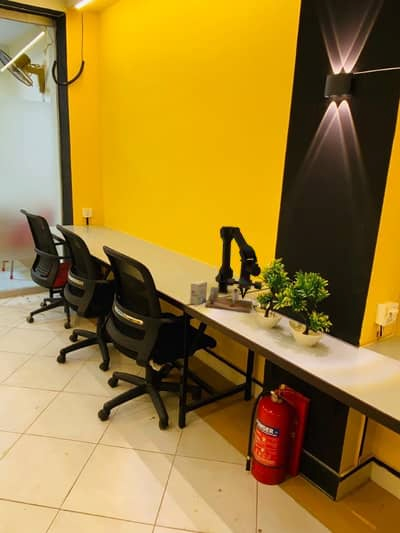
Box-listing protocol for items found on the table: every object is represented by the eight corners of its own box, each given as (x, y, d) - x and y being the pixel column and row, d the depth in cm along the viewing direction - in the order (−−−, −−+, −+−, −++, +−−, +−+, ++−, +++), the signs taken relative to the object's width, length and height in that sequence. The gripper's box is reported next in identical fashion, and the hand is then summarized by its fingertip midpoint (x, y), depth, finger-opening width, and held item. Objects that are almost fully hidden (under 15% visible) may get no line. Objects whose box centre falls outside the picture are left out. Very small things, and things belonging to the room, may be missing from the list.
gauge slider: (231, 299, 219) (232, 287, 217) (238, 300, 218) (240, 288, 216) (229, 305, 210) (230, 292, 208) (236, 306, 209) (238, 293, 208)
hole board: (209, 299, 222) (209, 294, 221) (251, 305, 218) (252, 300, 217) (204, 307, 210) (205, 302, 209) (249, 313, 206) (250, 308, 205)
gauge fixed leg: (211, 296, 221) (212, 286, 220) (218, 297, 220) (219, 287, 219) (208, 302, 212) (208, 291, 211) (215, 303, 211) (216, 292, 210)
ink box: (199, 299, 221) (200, 279, 218) (206, 301, 218) (207, 281, 215) (189, 303, 214) (190, 282, 211) (196, 305, 211) (198, 284, 208)
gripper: (226, 273, 205) (224, 301, 209) (262, 277, 202) (259, 305, 206) (229, 267, 216) (226, 294, 220) (263, 271, 213) (260, 299, 217)
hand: (242, 298), depth 215 cm, fingers closed
